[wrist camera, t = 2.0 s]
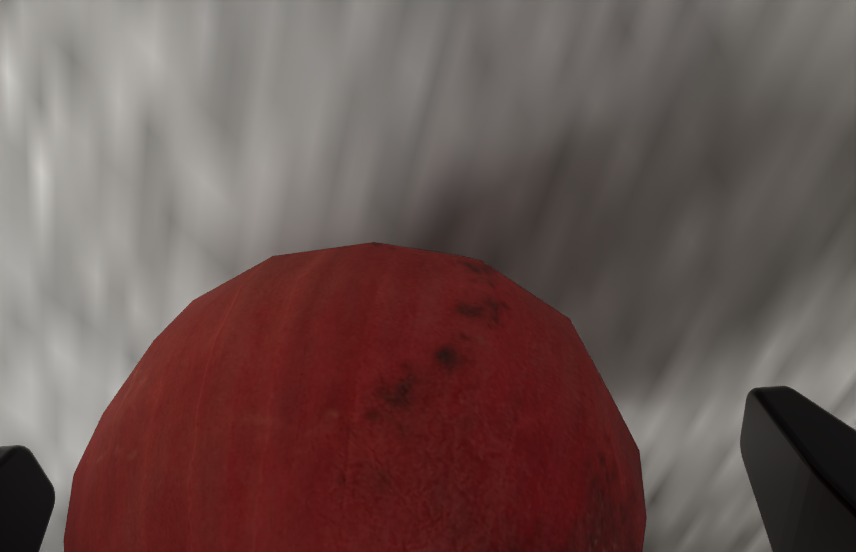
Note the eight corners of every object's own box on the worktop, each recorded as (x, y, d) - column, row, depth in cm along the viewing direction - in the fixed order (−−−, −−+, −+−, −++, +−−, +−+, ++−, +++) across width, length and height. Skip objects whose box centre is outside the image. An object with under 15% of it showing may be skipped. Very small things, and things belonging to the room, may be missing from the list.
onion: (469, 57, 8) (536, 887, 2) (636, 366, 11) (934, 1190, 4) (133, 253, 10) (-522, 1055, 3) (345, 480, 13) (221, 1194, 6)
